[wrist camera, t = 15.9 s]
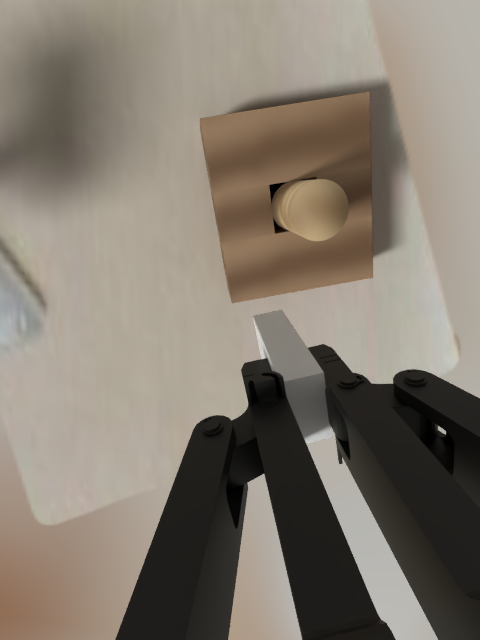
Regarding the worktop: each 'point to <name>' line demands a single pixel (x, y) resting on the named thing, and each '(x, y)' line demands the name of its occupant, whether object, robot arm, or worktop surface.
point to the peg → (310, 208)
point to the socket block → (283, 166)
